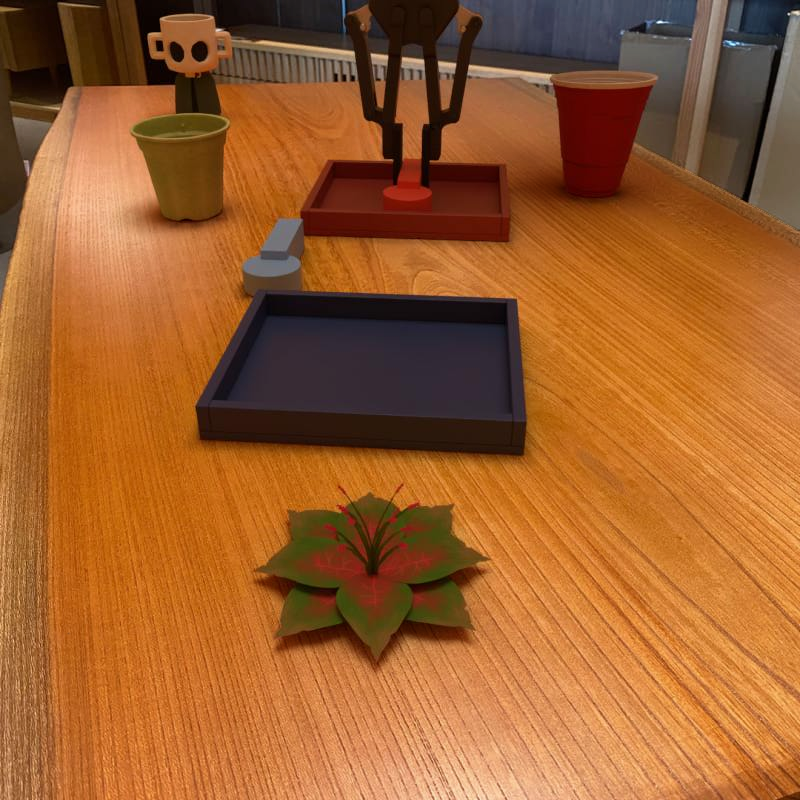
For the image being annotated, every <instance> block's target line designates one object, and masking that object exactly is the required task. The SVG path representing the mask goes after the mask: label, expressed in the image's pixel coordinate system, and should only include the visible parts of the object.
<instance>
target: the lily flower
mask: <svg viewBox="0 0 800 800" xmlns="http://www.w3.org/2000/svg"><path fill="white" fill-rule="evenodd" d="M370 477H371V475H370ZM404 486H405V484H404V482H402V483H400V485H399V486H398V487H397V489H395V493H394V494H393V496H392V497H391V499H390V500H388V499H385V498H382V497H375V494H373V493H372V492H371V491H368V493H366V495H363V496H361V497H359V498H358V500H353V501H352V499H351V497H350V496H349V495H348V494H347V492H346V490H345V489H344V488H343V487H342V486H341V485H340V484H339V483H338V484H337V488H338V489H340V491H341V492H342V494H343V495H344V496H346V497H347V499H348V500H349V503H348V504H347V505H345V506H343V505H342V504H336V505H335V507H338V510H340V511H341V512H337V511H334V510H330V509H305V510H304V509H303V510H301V511H299V512H298V511H297V510H294V509H285V510H286V514H287V515H288V517H287V518H288V522H289V523H290V525H289V531H290V535H291V538H292V541H290V542H288V543H287V544H285V545H284V546H283V547H281V548H280V549H279V550H278V551H277V552H276V553H274V554H273V555H272V556H271V557H269V560H268V561H267V562H266V564H265V565H264V564H262V565H260V566H259V567H257V568H256V569H253V570H251V572H252V573H261V574H266V575H275V577H279V578H285V579H289V580H291V581H295V582H296V583H297V584H296V585H294V586H293V588H291V589H290V591H289V592H288V594H287V596H286V597H285V600H284V603H283V606H282V608H281V613H280V618H279V622H280V628H278V629H277V631H276V633H275V635H274V636H273V638H272V640H277V639H279V638H282V637H287V636H290V635H291V636H292V635H295V634H300V633H301V632H303V631H305V632H310V631H314V630H318V629H321V628H327V627H332V626H336V625H339V624H342V623H345V622H347V623H348V624H349V626H350V627H351V629H352V630H353V631H354V633H356V635H357V636H358V638H359V639H360V640H361V641H362V642H363V643H364V644H366V646H368V647H369V648H370V652H371V654H372V656H373V657H374V659H375V662H378V661H379V659H380V657H381V654H382V652H383V651H384V650H385V648H386V646H387V645H388V643H389V642H390V641H391V635H394V634H396V632H397V631H398V630H399V628H400V626H401V625H402V623H403V621H404V620H407V621H411V622H418V623H426V624H431V625H436V626H437V625H438V626H444V627H452V628H454V627H462V629H466V630H469V631H470V630H471V631H474V632H477V629H476V627H475V626H474V625H473V623H472V619H471V616H470V613H469V612H470V611H468V609H467V610H466V606H467V603H466V600H465V597H464V595H463V593H462V590H461V589H460V588H459V586H458V585H457V584H456V582H454V581H453V580H452V579H451V578H450V577H448V576H449V575H452V574H453V573H456V572H458V571H459V570H463V569H466V568H470V567H472V566H475V565H477V564H478V563H480V562H481V563H483V562H489V561H492V560H493V559H492V558H490V557H488V556H486V555H483V554H482V553H480V552H479V551H477V550H476V549H475V548H473V547H469V546H467V545H466V542H464V541H463V540H461V539H460V538H458V537H457V536H454V535H453V534H451V530H452V527H453V513H452V512H451V511H453V509H454V506H455V505H456V503H450V504H447V505H446V504H441V505H433V506H431V507H430V506H429V505H420V502H414V503H413V504H412V503H411V504H410V505H408V506H407V507H406V508H404V509H403V510H401V509H400V507H398V506H397V505H396V504H395V503H394V502H393V500H394V498H395V496H396V495H397V494H398V493H399V491H400V490H401V489H402V488H403V487H404Z"/></svg>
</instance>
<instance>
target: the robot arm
mask: <svg viewBox="0 0 800 800" xmlns="http://www.w3.org/2000/svg"><path fill="white" fill-rule="evenodd" d="M372 17H373V19H374V20H375V22H376V23H377V25H378V26H379V27H380V29H381V31H382V32H383V33H384V35H385V36H386V38H387V39H388V41H389V42H388V50H387V64H386V74H385V83H384V84H385V85H384V95H383V103H382V104H383V106H382V107H380V106H379V105H378V104H379V103H378V97H377V91H376V83H375V82H376V81H375V75H374V69H373V67H374V66H373V61H372V54H371V47H370V46H371V45H370V39H369V35H368V32H369V31H370V29H371V28H372V24H371V18H372ZM454 18H455V19H456V21H457V25H456V31H457V33H458V34H459V35H460V40H459V45H458V49H457V55H456V62H455V70H454V75H453V81H452V87H451V93H450V94H451V95H450V99H449V105H448V108H444V109H443V107H442V94H441V83H440V82H441V79H440V66H439V55H438V52H439V51H438V40H439V39H440V37H442V35H443V34H444V32H445V31H446V29H447V28H448V27H449V26H450V24H451V22H452V21H453V19H454ZM483 21H484V19H483V16H482V14H481V13H479V12H473V11H470V10H469V9H467V8H466V7H464V6H462V5H460V0H367V4H365V5H364V6H362V7H360V8H358V9H357V10H351V11H349V12H348V13H347V14H346V15H345V16H344V18H343V25H344V27H345V29H346V31H347V33H348V35H349V37H350V39H351V41H352V46H353V52H354V60H355V66H356V73H357V80H358V86H359V94H360V102H361V106H362V114H363V115H362V116H363V118H364V120H365V121H366V122H374V123H375V124H378V125H379V126H380V128H381V152H382V153H381V156H382V157H383V159H384V160H391V161H393V186H395V185H397V180H398V177H399V173H400V170H401V167H402V163H403V159H404V158H403V156H404V155H403V153H404V151H403V149H404V123H403V122H396V119H397V111H398V110H397V109H398V102H399V101H398V100H399V91H400V81H401V74H402V63H403V56H404V55H403V54H404V50H405V49H404V48H405V46H408V45H411V44H412V45H416V46H420V47H421V48H422V57H423V65H424V66H423V67H424V77H425V89H426V90H425V91H426V102H427V114H428V115H427V116H428V123H423V124H422V129H421V153H420V154H421V157H420V159H421V172H422V178H421V186H423V187H426V188H428V189H429V183H430V162H440V161H439V160H440V159H441V156H442V143H443V142H442V140H443V139H442V138H443V129H444V127H446V126H448V125H451V124H457V123H458V122H459V121H460V119H461V114H462V109H463V104H464V103H463V102H464V97H465V92H466V91H465V90H466V85H467V80H468V79H467V78H468V73H469V67H470V63H471V62H470V61H471V55H472V51H473V50H472V49H473V44H474V42H475V41H476V38H477V37H478V35H479V33H480V31H481V29H482V27H483V25H484V23H483Z"/></svg>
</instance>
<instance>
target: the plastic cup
mask: <svg viewBox="0 0 800 800" xmlns="http://www.w3.org/2000/svg"><path fill="white" fill-rule="evenodd" d="M658 80H659V76H658V75H657V74H652V73H648V72H640V71H629V70H578V71H569V72H561V73H557V74H552V75H550V77H549V81H550V82H549V83H551V84H552V87H553V90H554V97H555V100H556V108H557V114H558V129H559V147H560V158H561V163H562V165H561V166H562V182H563V184H564V190H565V191H567V192H568V193H570V194H573V195H575V196H580V197H584V198H585V197H587V198H605V197H610V196H613V195H615V194H617V193H618V191H619V188H620V186H621V183H622V180H623V176H624V173H625V170H626V166H627V164H628V163H629V159H630V157H631V156H630V155H631V154H632V149H633V146H634V143H635V141H636V136H637V133H638V129H639V127H640V123H641V120H642V117H643V113H644V111H645V109H646V106H647V102H648V101H649V98H650V94H651V92H652V90H653V88H654V85H656V84H657V82H658Z"/></svg>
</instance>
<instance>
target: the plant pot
mask: <svg viewBox="0 0 800 800" xmlns="http://www.w3.org/2000/svg"><path fill="white" fill-rule="evenodd" d="M230 127H231V122H230V120H229V119H228V118H226V117H223V116H221V115H220V116H216V115H211V114H201V113H184V114H176V113H175V114H164V115H157V116H154V117H148V118H144V119H142V120H139V121H136V122H135V123H133V124H132V125H131V126H130V127H129V129H128V130H129V134H130V135H131V137H133V138H134V139H135V141H136V143H137V146H138V149H139V150H140V151H141V152H142V155H143V158H144V161H145V164H146V167H147V170H148V173H149V177H150V180H151V184H152V186H153V189H154V193H155V196H156V199H157V203H158V205H159V209H160V212H161V215H162V216H163V217H164V218H166V219H168V220H172V221H174V222H175V221H176V222H177V221H179V222H180V221H182V220H184V219H188V220H192V221H203V220H205V219H206V220H207V219H210V218H212V217H215V216H218V214H220V213H221V212H222V209H223V207H224V165H225V163H224V161H225V159H224V158H225V157H224V156H225V144H226V142H227V133H228V132H227V131H229V130H230Z"/></svg>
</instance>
